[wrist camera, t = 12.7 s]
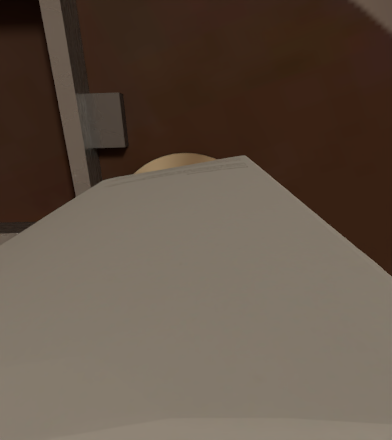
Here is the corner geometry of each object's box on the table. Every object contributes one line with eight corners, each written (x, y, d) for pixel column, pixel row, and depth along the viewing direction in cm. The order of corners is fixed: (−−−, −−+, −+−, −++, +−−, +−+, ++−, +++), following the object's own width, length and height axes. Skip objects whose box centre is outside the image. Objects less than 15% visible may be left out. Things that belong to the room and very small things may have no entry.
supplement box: (96, 177, 16) (-732, 623, 2) (248, 152, 15) (842, 522, 1) (133, 303, 19) (-58, 833, 5) (261, 286, 18) (466, 835, 4)
